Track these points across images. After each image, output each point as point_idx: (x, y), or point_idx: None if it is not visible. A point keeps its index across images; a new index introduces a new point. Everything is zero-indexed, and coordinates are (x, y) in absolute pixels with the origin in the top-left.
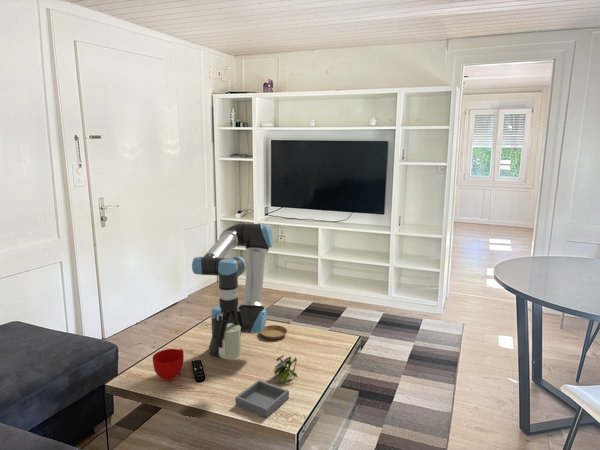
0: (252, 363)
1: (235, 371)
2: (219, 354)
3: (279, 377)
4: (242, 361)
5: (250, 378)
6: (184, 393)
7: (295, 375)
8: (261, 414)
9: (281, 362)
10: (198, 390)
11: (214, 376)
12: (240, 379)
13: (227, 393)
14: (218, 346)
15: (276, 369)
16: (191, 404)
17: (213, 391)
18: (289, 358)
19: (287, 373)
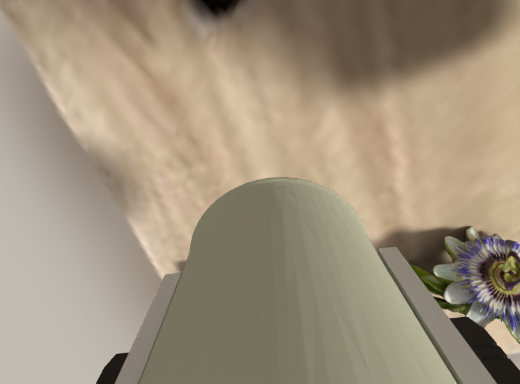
0: (498, 76)
1: (385, 71)
2: (194, 237)
3: (423, 274)
4: (495, 11)
5: (373, 172)
6: (93, 45)
7: (460, 312)
8: None
9: (486, 302)
10: (157, 75)
11: (285, 25)
12: (342, 147)
13: (234, 186)
14: (110, 367)
15: (445, 279)
16: (86, 143)
17: (202, 134)
18: (518, 341)
19: (446, 308)
